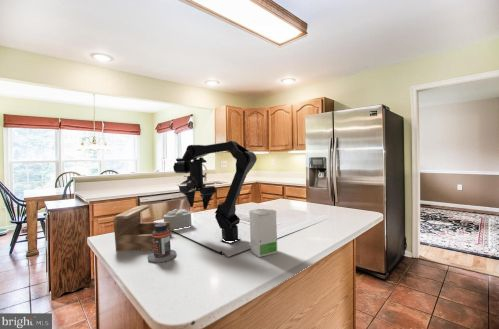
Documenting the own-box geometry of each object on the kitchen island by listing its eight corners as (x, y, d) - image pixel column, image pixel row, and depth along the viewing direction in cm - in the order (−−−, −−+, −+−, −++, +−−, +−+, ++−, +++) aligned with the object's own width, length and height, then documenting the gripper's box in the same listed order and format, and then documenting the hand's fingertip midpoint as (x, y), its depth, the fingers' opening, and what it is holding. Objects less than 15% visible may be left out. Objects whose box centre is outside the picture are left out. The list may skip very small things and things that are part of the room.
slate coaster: (181, 255, 93) (181, 253, 93) (157, 265, 86) (156, 263, 86) (166, 249, 100) (166, 247, 100) (142, 258, 92) (142, 256, 92)
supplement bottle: (150, 256, 92) (148, 225, 91) (164, 250, 97) (162, 221, 96) (160, 259, 89) (158, 227, 88) (174, 253, 93) (172, 223, 93)
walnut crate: (170, 234, 118) (168, 205, 117) (153, 250, 100) (150, 215, 99) (138, 235, 119) (136, 206, 118) (115, 250, 101) (113, 216, 100)
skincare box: (258, 258, 88) (256, 214, 87) (249, 251, 94) (247, 210, 93) (278, 252, 92) (276, 210, 91) (269, 246, 98) (267, 207, 97)
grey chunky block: (193, 227, 128) (192, 210, 127) (167, 232, 121) (165, 214, 121) (187, 222, 137) (186, 207, 136) (162, 227, 130) (161, 210, 130)
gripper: (168, 174, 111) (170, 209, 112) (195, 175, 99) (197, 215, 100) (188, 172, 119) (190, 204, 120) (216, 173, 108) (217, 209, 109)
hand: (198, 208), depth 112 cm, fingers open, 9 cm apart
